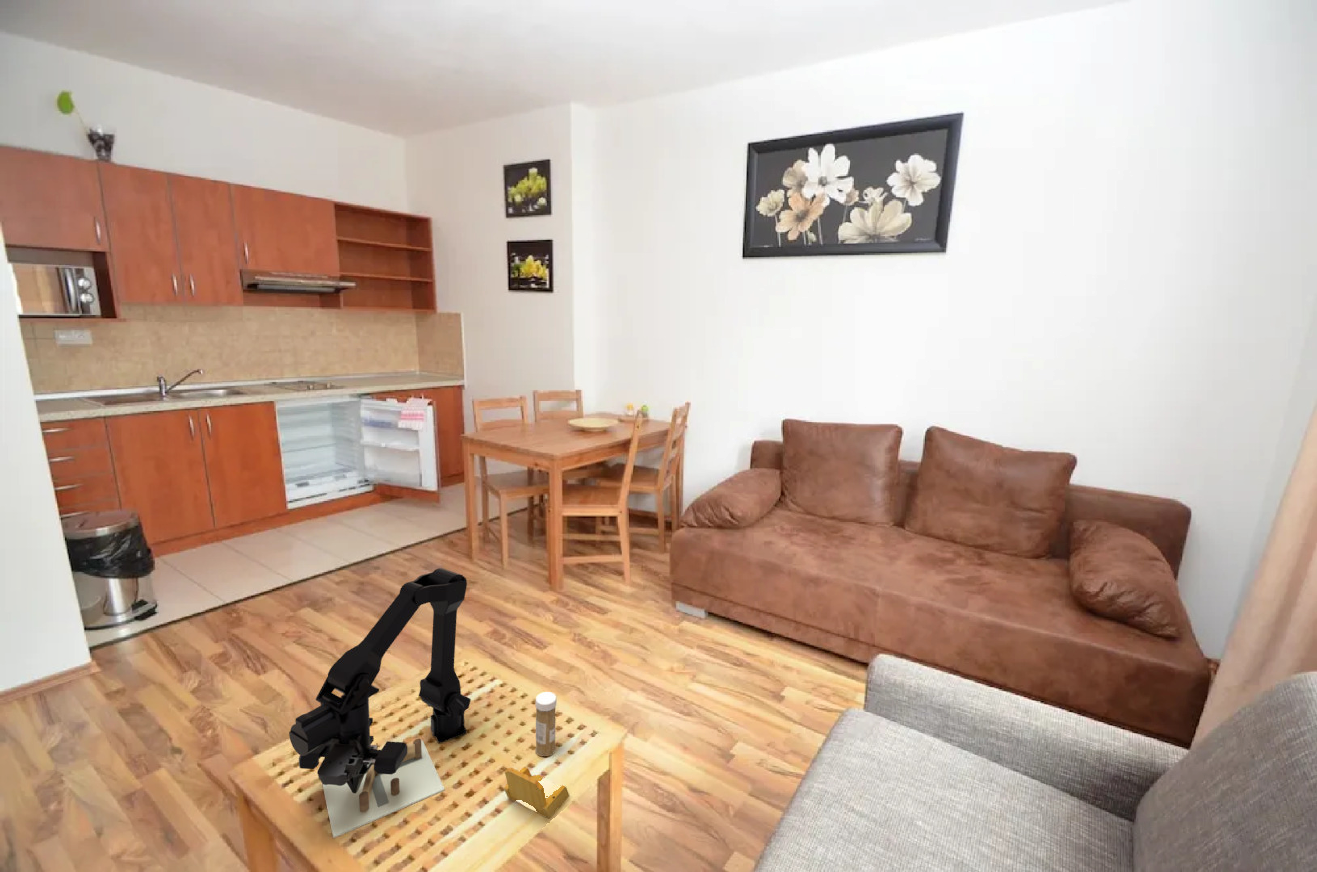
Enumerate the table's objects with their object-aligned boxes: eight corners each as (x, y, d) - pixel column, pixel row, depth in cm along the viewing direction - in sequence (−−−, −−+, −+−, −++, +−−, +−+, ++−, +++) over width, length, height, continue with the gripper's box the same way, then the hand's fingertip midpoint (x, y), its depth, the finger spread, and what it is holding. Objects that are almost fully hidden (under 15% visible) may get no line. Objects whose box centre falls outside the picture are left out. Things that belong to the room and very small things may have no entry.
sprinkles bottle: (558, 753, 128) (559, 699, 126) (539, 760, 126) (540, 706, 123) (550, 740, 132) (551, 688, 130) (531, 747, 130) (532, 694, 127)
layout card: (422, 740, 130) (422, 739, 130) (444, 790, 117) (444, 788, 117) (321, 778, 118) (321, 776, 118) (333, 838, 105) (333, 836, 105)
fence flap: (367, 778, 118) (366, 764, 117) (376, 776, 118) (375, 763, 117) (359, 813, 109) (358, 798, 109) (368, 811, 110) (367, 797, 109)
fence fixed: (420, 753, 126) (419, 736, 125) (432, 781, 119) (431, 762, 118) (367, 774, 120) (366, 755, 119) (376, 804, 113) (375, 785, 112)
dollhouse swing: (571, 793, 118) (572, 754, 116) (542, 828, 109) (542, 786, 108) (530, 774, 122) (531, 736, 121) (500, 805, 114) (500, 765, 112)
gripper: (277, 749, 103) (282, 823, 106) (380, 756, 103) (382, 829, 106) (314, 708, 114) (318, 776, 117) (407, 714, 114) (409, 782, 116)
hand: (355, 791), depth 113 cm, fingers closed
